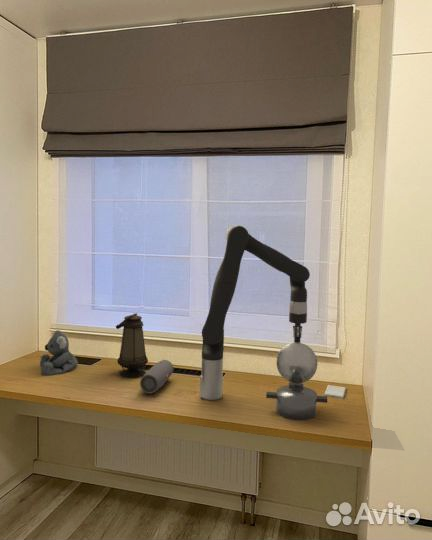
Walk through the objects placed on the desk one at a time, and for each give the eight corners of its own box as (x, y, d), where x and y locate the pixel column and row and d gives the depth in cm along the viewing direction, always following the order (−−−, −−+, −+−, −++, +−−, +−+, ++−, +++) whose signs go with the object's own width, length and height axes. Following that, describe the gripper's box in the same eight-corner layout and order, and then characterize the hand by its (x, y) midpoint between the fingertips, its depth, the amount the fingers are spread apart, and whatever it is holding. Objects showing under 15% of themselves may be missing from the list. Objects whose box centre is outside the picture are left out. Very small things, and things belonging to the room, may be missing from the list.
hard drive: (327, 384, 208) (324, 393, 196) (345, 387, 205) (343, 396, 193) (327, 388, 208) (323, 397, 197) (345, 390, 205) (343, 400, 194)
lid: (277, 342, 187) (277, 340, 191) (275, 384, 188) (275, 382, 191) (318, 344, 185) (317, 343, 188) (316, 387, 185) (316, 385, 189)
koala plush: (39, 366, 228) (38, 329, 226) (75, 363, 235) (75, 326, 234) (41, 377, 212) (40, 337, 210) (80, 372, 220) (80, 334, 218)
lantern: (139, 381, 209) (140, 318, 207) (110, 378, 213) (110, 316, 210) (154, 369, 227) (154, 311, 224) (126, 366, 231) (127, 309, 228)
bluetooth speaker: (159, 397, 191) (159, 374, 190) (138, 395, 193) (138, 372, 192) (174, 379, 213) (174, 359, 212) (156, 378, 215) (156, 357, 214)
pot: (265, 417, 173) (265, 397, 172) (266, 401, 188) (267, 383, 188) (328, 422, 169) (329, 402, 168) (324, 406, 185) (325, 387, 184)
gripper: (289, 308, 199) (287, 346, 200) (289, 313, 186) (288, 354, 187) (306, 309, 197) (304, 347, 199) (307, 314, 184) (306, 355, 186)
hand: (296, 350), depth 193 cm, fingers closed
